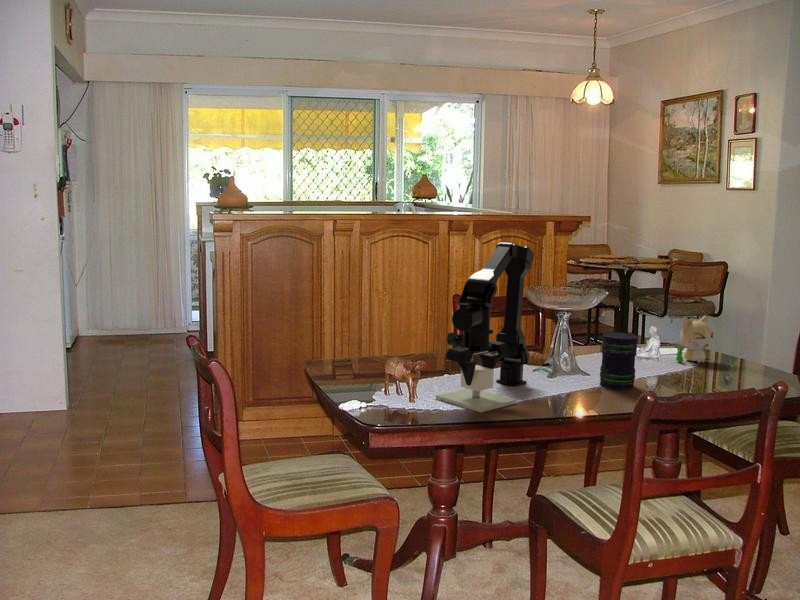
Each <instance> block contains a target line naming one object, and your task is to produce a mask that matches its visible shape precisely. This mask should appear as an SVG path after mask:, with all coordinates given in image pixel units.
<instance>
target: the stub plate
mask: <svg viewBox="0 0 800 600" xmlns="http://www.w3.org/2000/svg"><path fill="white" fill-rule="evenodd" d="M435 399H436V400H438V399H439V400H438V401H441V400H443V401H442V402H444V401H446V402H445V403H447V402H449V403H448V404H451V403H453V404H452V405H454V404H456V405H455V406H457V405H459V406H458V407H461V406H462V407H461V408H465V409H468V410H471V411H473V412H474V411H475V412H478V413H484V412H488V411H491V410H496V409H500V408H503V407H507V406H511V405H515V404H517V399H516V398H512V397H508V396H504V395H502V394H498V393H493V392H490V391H488V390H487V391H486V390H481V391H475V390H471V389H468V388H462V389H457V390H454V391H449V392H445V393H441V394H436V395H435Z"/></svg>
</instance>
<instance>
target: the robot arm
mask: <svg viewBox="0 0 800 600" xmlns="http://www.w3.org/2000/svg"><path fill="white" fill-rule="evenodd" d="M534 254H535V253H534V251H533V250H531V247H530V246H526V245H524V246H523V245H518V244H517V243H514V242H504V241H501V242H498V243H496V247H495V250H494V252H493V253H492V255H491V256H490V257H489V259H488V260H487V262H486V263H485V265H484V266H483V267H482V269H481V270H479V271H475V272H474V273H473V274H472V275H470V276H469V278H467V280H466V281H465V283H464V286H463V289H462V291H461V295H460V298H459V301H458V304H459V308H458V309H456V310H455V311H454V312H453V314H452V317H451V321H452V325H453V326H454V328H455V329H456V330H458V331H460V332H463V333H461V334H457V332H456V331H454V332H450V333H447V336H446V343H447V345H448V346H451V348H448V349H447V350H446V351H445V360H447V361H453V362H455V363H457V364H458V365H459V366H460V370H461V369H462V372H463V375H464V378H465V381H466V384H467V385H471V382H472V379H473V374H474V370H475V366H476V365H477V361H475V360H474V356H475V357H476V356H478V357H479V358H480V360H481V366H483V367H487V368H491V369H494V370H495V367H496V366H497V364H498V363H499V362H500V368H499V369H500V370H499V372H500V373H499V379H496V380H495V382H496V383H499V384H504V385H507V386H510V387H515V386H519V385H524V384H526V383H527V380H524V379H523V378H524V376H523V375H524V365H529V364H528V363H529V360H530V354H529V352H530V351H529V350H528V347H527V345H526V337H525V334H524V332H523V330H522V328H521V325H522V324H521V323H522V311H523V303H524V302H523V300H524V287H525V277H526V276H527V275H528V273H529V272H530V271H531V269H532V263H533V262H534V258H535V257H534V256H535V255H534ZM503 272H505V274H506V276H507V277H506V278H507V280H506V291H505V292H506V294H505V305H504V307H505V308H504V318H503V327H502V329H501V330H500V331H499V332H497V333H496V336H495V340H491V341H490V335H491V334H494V329H492V328H491V311H492V310H491V309H492V307H493V306H494V303H493V300H494V298H495V296H496V294H497V291H498V286H497V282H498V280H499V279H500V277H501V275H502V274H503ZM528 351H529V352H528Z"/></svg>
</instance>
